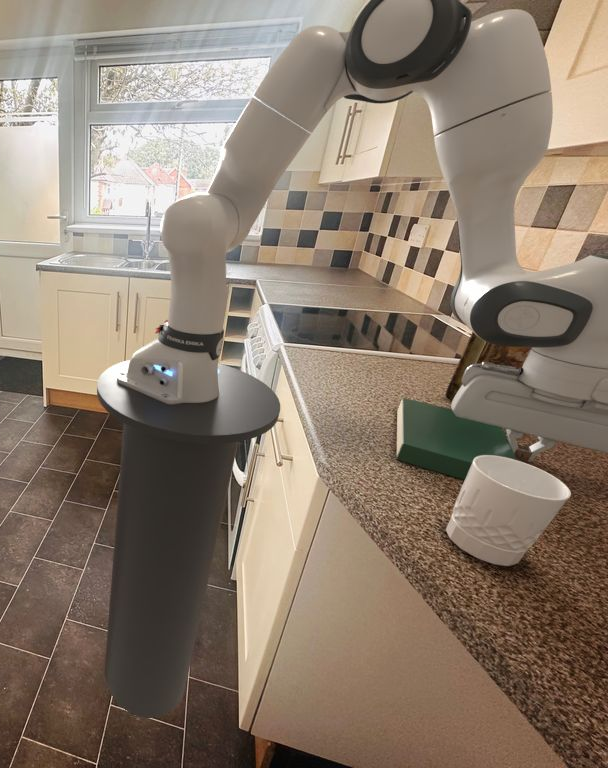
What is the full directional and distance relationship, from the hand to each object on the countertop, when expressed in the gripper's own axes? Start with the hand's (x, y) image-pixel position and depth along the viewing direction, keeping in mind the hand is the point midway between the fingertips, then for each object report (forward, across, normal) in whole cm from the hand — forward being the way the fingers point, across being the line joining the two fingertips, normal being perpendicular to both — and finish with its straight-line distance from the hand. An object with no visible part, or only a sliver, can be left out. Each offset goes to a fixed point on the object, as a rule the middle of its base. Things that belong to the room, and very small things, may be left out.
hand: (518, 457), depth 65 cm
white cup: (+2, -7, -25) cm, 26 cm away
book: (+2, +1, +23) cm, 23 cm away
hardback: (+1, -8, 0) cm, 9 cm away
